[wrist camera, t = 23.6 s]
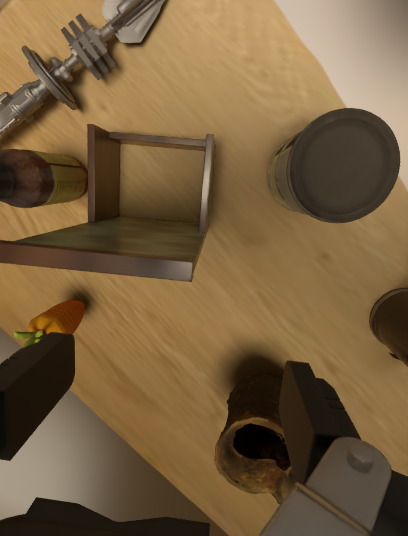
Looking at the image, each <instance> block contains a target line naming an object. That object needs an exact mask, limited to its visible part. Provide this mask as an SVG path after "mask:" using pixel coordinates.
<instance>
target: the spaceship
mask: <svg viewBox="0 0 408 536" xmlns="http://www.w3.org/2000/svg"><path fill="white" fill-rule="evenodd" d="M163 2H164V0H104V4H103V8H102V14H103V15H104V17H105V18H106V20H107V21H108V23H107V24H106V25H105V26H104V27H103V28H102V29H100V30H99V31H98V30H97V28H95V29H92V27H93V25H92V26H91V27H90V26H89V24H88V23H87V22H86V20H85V19H84V17H83V16H82V15H81V14H79V15H78V16H76V19H77V21H78V22H79V23H80V25H81V26H82V28H83V29H84V33H82V31H81V30H80V29H79V28H78V26H77V25H76V24H75V23H74V21H73V20H72V21H71V22H70V23H68V24H69V26H70V27H71V29H72V30H73V32H74V33H75V35H76V36H77V39H74V37H73V36H72V35H71V34H70V33H69V31H68V30H67V29H66V28H65V27H64V28H63V29H62V30H61V31H62V33H63V34H64V36H65V37H66V39H67V40H68V42H69V43H70V45H69V46H72V48H71V49H70V50H71V51H72V53H73V54H71V56H70V57H69V58H68V59H67V60H66V59H65V61H64V62H62V61H60V60H59V59H57V58H56V57H52V58H51V63H52V65H53V68H52V69H51V68H50V67H49V66H48V65H47V64H46V63H45V61H44V60H43V59H42V58H41V57H40V56H39V55H38V54H37V53H36V52H35V51H33V50H30V49H29V48H28V47H27V46H22V51H23V53H24V54H25V56H26V57H27V59H28V60H29V62H28V63H29V65H30V67H31V68H32V70H33V71H34V73H35V74H36V75H37V76H38V78H39V80H37V81H35V82H32V83H30V82H28V83H25V84H24V85H22V84H21V85H20V86H21V87H20V88H19V89H18V90H17V91H16V92H15V93H14V94H12V95H11V94H8V92H4V93H3V94H1V95H0V102H1V103H2V104H1V105H0V136H1V135H2V134H3V133H4V132H6V131H8V130H10V129H12V128H14V127H15V126H17V125H19V124H20V123H21V122H22V121H24V120H25V121H26V122H27V123H28V122H29V123H30V122H31V121H32V120H33V119H34V118H35V116H34V115H35V114H34V113H33V112H34V111H35V110H37V109H38V108H39V107H41V106H42V105H43V104H44V103H45V101H46V97H47V95H48V93H49V92H51V93H52V94H53V95H54V96H55V97H56V98H57V99H58V100H59V101H60V102H62V103H65V104H66V105H67V106H69V107H70V108H71V109H72V110H76V108H77V107H76V105H75V103H74V102H75V100H74V98H73V97H72V95H71V94H70V92H69V91H68V90H67V88H66V87H65V86H64V84H63V83H62V82H61V81H62V80H64V79H65V80H66V81H68V82H72V81H73V77H72V75H71V72H70V71H71V69H73V68H74V67H75V66H76V65H78V64H79V63H81V65H82V66H84V65H86V66H85V67H88V69H89V70H90V71H91V72H92V74H93V75H94V76H95V77H96V78H97V80H99V79H100V78H102V77H101V75H100V74H99V72H98V71H97V69H96V68H95V66H94V65H93V62H95V63H96V64H97V65H98V66H99V68H100V69H101V70H102V71H103V72H104V73H105V74H106V73H108V72H109V71H108V69H107V68H106V66H105V65H104V63H103V62H102V60H101V59H100V56H102V57H103V58H104V60H105V61H106V62H107V63H108V65H110V66H111V67H112V68H113V67H115V66H116V64H115V63H114V61H113V60H112V59H111V57H110V56H109V54H108V53H107V48H106V46H107V44H106V41H107V40H108V39H109V38H110V37H111V36H113V35H114V34H116V35H117V37H118V38H119V40H120V41H121V43H141V41H142V39H143V38H144V36H145V34H146V33H147V31H148V30H149V28H150V26H151V25H152V23H153V21H154V20H155V18H156V16H157V15H158V13H159V11H160V7H161V5H162V4H163ZM42 107H43V106H42ZM42 107H41V108H42ZM33 114H34V115H33Z"/></svg>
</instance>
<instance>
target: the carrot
mask: <svg viewBox="0 0 408 536" xmlns="http://www.w3.org/2000/svg"><path fill="white" fill-rule="evenodd" d="M84 308H85V306H84V303H83V302H81V301H77V300H69V301H65V302H62V303H60V304H58V305H56V306H54V307H52V308H51V309H49V310H47V311H45V312H44V313H42V314H40V315H39V316H37V317H36V318H34V319H33V320H31V321H30V323H29V327H28V332H14V335H13V336H14V337H15V338H18V339H25V338H29V340H28V341H27V342H26V343H25V344H24V346H23V347H22V348H24V347H26V346H29V345H31V344H33V343H37V342H39V341H40V340H41V339H42V338H44V337H45V336H46V335H48V334H49V333H50V332H59V333H67V334H73V333H74V332H75V330H76V329H77V328H78V326H79V324H80V322H81V320H82V318H83V313H84Z"/></svg>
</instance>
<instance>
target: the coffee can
mask: <svg viewBox="0 0 408 536" xmlns="http://www.w3.org/2000/svg"><path fill="white" fill-rule="evenodd" d="M399 167H400V151H399V147H398V143H397V140H396V137H395V135H394V133H393V131H392V130H391V128H390V127H389V126H388V125H387V124H386V123H385V122H384V121H383V120H382V119H381V118H379V117H378V116H376V115H374V114H372V113H371V112H368V111H365V110H362V109H355V108H344V109H338V110H334V111H331V112H328V113H326V114H324V115H322V116H320V117H318V118H317V119H315V120H314V121H312V122H311V123H310V124H309V125H308V126H307V127H306V128H305V129H304V130H303V131H301V132H300V133H299V134H297V135H296V136H294V137H293V138H292V139H290V140H288V141H287V142H285V143H284V144H283V145H282V146H281V147H280V148H279V149H278V150H277V151H276V153H275V154H274V156H273V158H272V160H271V162H270V165H269V170H268V183H269V188H270V190H271V192H272V195H273V196H274V198H275V199H276V200H277V201H278V202H279V203H280V204H281V205H282V206H284V207H285V208H287V209H289V210H292V211H296V212H301V213H303V214H307V215H310V216H311V217H313V218H316V219H318V220H320V221H324V222H329V223H345V222H351V221H354V220H357V219H360V218H362V217H364V216H366V215H368V214H369V213H371V212H372V211H374V210H375V209H376V208H378V207H379V206H380V205H381V204H382V203H383V202H384V201H385V199H386V198H387V197H388V195H389V194H390V192H391V190H392V189H393V187H394V185H395V182H396V180H397V177H398V173H399Z"/></svg>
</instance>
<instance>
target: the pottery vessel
mask: <svg viewBox="0 0 408 536" xmlns="http://www.w3.org/2000/svg"><path fill="white" fill-rule="evenodd" d="M282 381H283V377H280V376H277V375H269V374H267V375H265V374H260V373H259V374H256V375H252V376H249V377H243V378H242V379H241V380H240V381H239V382H238V383H237V385H236V386H235V388H234V389H233V391H232V392H231V393H230V396H229V399H228V400H227V403H228V412H229V413H228V418H227V422H226V426H225V428H224V430H223V432H221V435H220V438H219V440H218V442H217V444H216V448H215V459H214V460H215V464H216V467H217V470H218V472H219V473H220V474H221V475H222V476H223V477H224V478H225V479H226V480H227V481H228V482H229V483H230V484H232V485H234V486H235V487H237V488H239V489H241V490H243V491H245V492H248V493H253V494H257V493H270V494H272V495H273V496H274V497H275V498H276V500H277V502H278V504H281V503H282V501H283V500H284V498H285V497H286V496H287V494H288V493H289V491H290V490H291V488H292V487H293V486H294V484H295V481H294V476H293V472H292V468H291V463H290V459H289V454H288V450H287V446H286V441H285V437H284V432H283V428H282V424H281V419H280V414H279V399H280V393H281V387H282Z"/></svg>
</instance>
